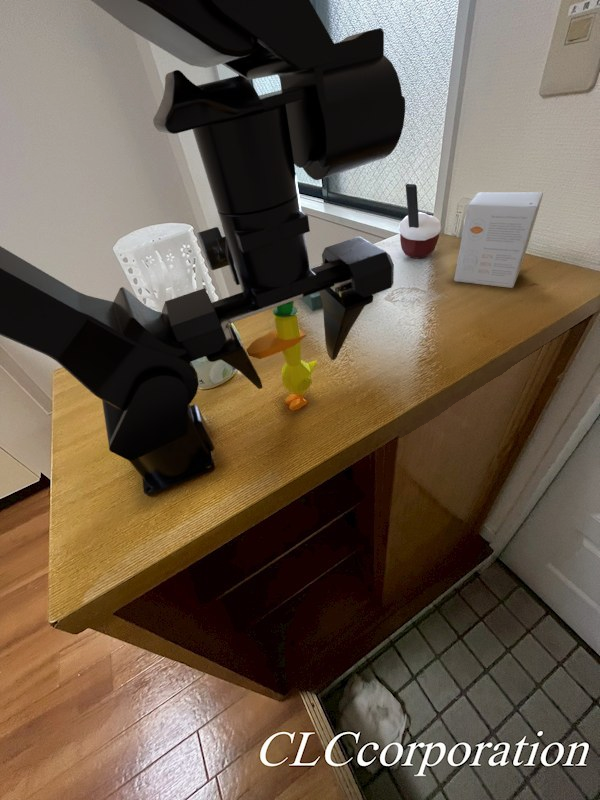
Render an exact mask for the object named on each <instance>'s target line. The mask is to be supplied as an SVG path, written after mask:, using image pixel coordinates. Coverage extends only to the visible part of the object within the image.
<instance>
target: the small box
mask: <svg viewBox="0 0 600 800" xmlns="http://www.w3.org/2000/svg"><path fill="white" fill-rule="evenodd" d="M543 196H544V192H543V191H537V192H536V191H534V192H533V191H530V192H529V191H528V192H527V191H525V192H524V191H523V192H521V191H520V192H519V191H513V192H510V191H506V192H505V191H503V192H501V191H499V192H498V191H497V192H495V191H489V192H486V191H484V192H483V191H482V192H481V191H479V192H477V193H476V194H475V196H474V197H473V198H472V199H471V201H470V202H469V203H468V204H467V206H466V211H465V217H464V222H463V229H462V234H461V240H460V245H459V251H458V256H457V263H456V267H455V274H454V282H457V283H464V284H465V283H466V284H467V283H468V284H476V285H482V286H483V285H484V286H492V287H501V288H508V289H513V288H514V287H515V284H516V283H517V282H516V281H517V279H518V276H519V273H520V271H521V269H522V265H523V262H524V259H525V256H526V253H527V249H528V246H529V242H530V240H531V236H532V233H533V230H534V226H535V223H536V220H537V218H538V217H537V216H538V213H539V211H540V206H541V203H542V200H543Z"/></svg>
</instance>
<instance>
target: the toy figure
mask: <svg viewBox="0 0 600 800" xmlns="http://www.w3.org/2000/svg"><path fill="white" fill-rule="evenodd" d="M272 314H273V318H274V323H275V328H276V329H275V330H272V331H269V332H268V333H266V334H265V335H262V336H259V337H258V338H257V339H255V340H254V341H251V344H250V345H248V347H247V348H246V353H247V355H248V357H251V358H254V359H258V360H262V359H265V358H268V357H271V356H273V355H276V354H278V353H281V352H282V354H283V357H284V359H285V363H284V364H283V366H282V368H281V369H280V370H281V379H282V383H283V388H284V389H285V390H286V391H288V392H289V393H290V394H288V396H287V397H286V399H285V400H284V402H285V404H286V406H288V409H290V411H297V410H300V409H301V408H302V407H304V406H305V405H306V404H308V401H307V399H305V398H304V394H305V393H306V392H307V391H308V390H309V389H310V387H311V386H312V385H313V383H312V373H313V371H314V369H315V368H316V365H317V363H318V360H319V359H316V360H312V361H310V362H305V360H303V359H302V349H301V348H302V344H301V343H302V342H301V341H302V340H303V339H304V338H306V337H307V335H306V333H305V332H304V331H302V329H300V327H299V321H298V315H297V314H298V309H297V307H296V306H294V301H291V302H289V303H286V304H283V305H280V306H277V307H275V308H273V309H272Z"/></svg>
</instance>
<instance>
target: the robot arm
mask: <svg viewBox="0 0 600 800" xmlns="http://www.w3.org/2000/svg"><path fill="white" fill-rule="evenodd" d="M90 1H91V2H92V3H94V4H95V5H96V6H98V7H99V8H101V9H102V10H103V11H104V12H106V13H107V14H109V15H110V16H111V17H112V18H113V19H115V20H116V21H118V22H119V23H120V24H122V26H124V27H126V28H127V29H129V30H131V31H132V32H133V33H135V34H137V35H139V36H140V37H142V38H143V39H145V40H147V41H148V42H150V43H152V44H153V45H155V46H156V47H158V48H159V49H162V50H163V51H165V52H167V53H168V54H169V55H171V56H173V57H175V58H177V59H178V60H180V61H181V62H183V63H185V64H187V65H189V66H193V67H198V68H205V69H206V68H207V69H208V68H212V67H215V66H219V65H223V66H224V67H226V68H227V69H229V70H230V71H232V72H234V73H235V74H236V75H235V76H232V77H228V78H223V79H218V80H214V81H211V82H206V83H201V84H197V85H196V84H195V83H194V82H192V81H191V80H190V79H189V78H188V77H186V75H185V74H184V73H183V72H182V71H181V70H180V69H179V70H178V69H175V70H173V71H170V72H167V73H166V74H165V76H164V91H163V96H162V99H161V100H160V101H161V102H160V105H159V107H158V109H157V111H156V113H155V114H154V117H153V122H152V123H153V126H154V128H155V129H156V131H158V132H161V133H167V134H171V135H176V134H180V133H183V132H187V131H191V130H192V132H193V136H194V138H195V142H196V145H197V149H198V152H199V155H200V159H201V161H202V165H203V168H204V172H205V175H206V178H207V181H208V185H209V188H210V192H211V194H212V198H213V201H214V204H215V207H216V210H217V214H218V217H219V221H220V224H221V227H222V230H223V234H224V236H223V235H222V232H221V230H220V228H219V227H218V226H214V227H212V228H207V229H205V230H202V231H199V232H197V233H196V235H197V238H198V241H199V243H200V247H201V249H202V252H203V254H204V257H205V261H206V262H207V265H208V268H209V269H210V271H216V270H219V269H222V268H225V267H227V266H229V270H230V273H231V277H232V280H233V282H234V283H235V285H236V286H240V289H241V292H239V293H236V294H233V295H230V296H227V297H224V298H221V299H218V300H215V301H213V302H212V301H211V298H210V296H209V294H208V291H207V289H206V288H205V287H204V288H201V289H198V290H195V291H192V292H188V293H186V294H183V295H179V296H177V297H174V298H171V299H168V300H165V301H164V303H163V306H162V309H161V311H158V310H155V309H152V308H151V307H148V306H147V305H146V304H144V303H143V302H142V301H141V300H140V299H138V297H137V296H135V295H134V294H133V293H132V292H131V291H129V290H128V289H127V288H126V287H123V286H121V287H119V289H118V292H117V294H116V296H115V297H114V300H113V301H111V300H107V299H104V298H99V297H95V296H91V295H87V294H85V293H83V292H80V291H78V290H76V289H74V288H73V287H71V286H69V285H67V284H66V283H64V282H63V281H61V280H59V279H57V278H55V277H54V276H52V275H50V274H49V273H46V271H44V270H42V269H40V268H38V267H36V266H35V265H33V264H32V263H30V262H28V261H26V259H23V258H21V257H19V256H18V255H16V254H14V253H13V252H11V251H9V250H8V249H6V248H4V247H3V246H2V245H0V336H1V337H4V338H6V339H8V340H11V341H13V342H15V343H18V344H20V345H22V346H24V347H27V348H29V349H31V350H34V351H36V352H39V353H41V354H43V355H45V356H47V357H49V358H50V359H52V360H54V361H55V362H57V363H58V364H59V365H60V366H61V367H62V368H63V369H65V370H66V371H67V372H68V373H69V375H71V376H73V377H74V378H75V379H76V380H77V381H78V382H79V384H81V385H83V387H84V388H85V389H87V390H88V391H89V392H90V393H91V394H93V395H94V396H95V397H96V398H98V399H100V400H101V402H102V409H103V415H104V423H105V430H106V436H107V443H108V449H109V451H110V452H111V453H113V454H115V455H117V456H119V457H121V458H123V459H125V460H127V461H128V462H129V463H130V464H131V465H132V466H133V468H134V469H135V470H136V471H137V473H138V474H139V475H140V476H141V478H142V487H143V494H144V495H145V496H146V497H152V496H155V495H158V494H161V493H163V492H165V491H167V490H170V489H173V488H175V487H178V486H180V485H182V484H183V485H184V484H185V483H188V482H190V481H193V480H195V479H198V478H200V477H202V476H205V475H208V474H210V473H212V472H213V471H215V469H216V464H215V460H214V456H213V453H212V452H214V450H215V445H214V441H213V437H212V434H211V430H210V428H209V426H208V424H207V423H206V420H205V418H204V416H203V413H202V411H201V410H200V408H199V405H198V404H197V405H196V404H191V403H192V402H193V400H194V399H195V397H196V395H197V393H198V389H199V384H200V383H199V375H198V372H197V370H196V368H195V366H194V364H193V362H195V361H196V360H199V359H202V358H204V357H205V358H206V360H207V362H211V363H214V362H218V361H223V362H225V363H226V364H228V365H229V366H231V367H232V368H233V369H235V370H236V371H238V372H240V373H241V374H242V375H243V376H244V377H245V378H246V379H247V380H248V381H249V382H250V383H252V384H253V385H254V386H255V387H256V388H257V389H258V390H261V389H263V388H264V386H263V383H262V380H261V378H260V376H259V373H258V372H257V370H256V368H255V365H254V364H253V362H252V360H251V358H250V356H249V355H248V352H247V350H246V349H245V348H244V345H243V343H242V342H241V340H240V338H239V335H238V334H237V332H236V330H235V328H234V327H233V325H232V324H233V323H235V322H238V321H241V320H243V319H247V318H249V317H252V316H255V315H258V314H260V313H263V312H266V311H269V310H271V309H272V310H273V309H275V308H276V307H277V306H280V305H283V304H286V303H289V302H291V301H293V302H295V301H297V300H299V299H301V298H302V297H305V296H307V295H310V294H313V293H316V292H319V293H320V296H321V300H322V303H323V308H322V310H323V311H322V312H323V326H324V341H325V347H326V353H327V356H328V357H329V358H330V360H331V361H334V360H337V358H338V356H339V354H340V352H341V350H342V347H343V345H344V343H345V341H346V339H347V338H348V336H349V333H350V331H351V329H352V328H353V326H354V325H355V323H356V322H357V320H358V318H359V316H360V315H361V313H362V312H363V310H364V308H365V307H366V306H368V305H371V304H372V303H373V302H374V295H376V294H378V293H381V292H383V291H387V290H389V289H392V287H393V285H394V276H395V275H394V272H395V271H394V270H395V265H394V262H393V259H392V256H391V255H390V254H389V253H388V252H387V251H386V250H384V249H382V248H380V247H378V246H376V244H373V243H371V242H370V241H368V240H366V239H364V238H363V237H361V236H356V237H353V238H349V239H347V240H344V241H341V242H338V243H334V244H332V245H329V246H326V247H324V249H323V251H322V253H321V260H322V263H320V265H316V266H313V267H312V268H311V266H310V260H309V253H308V246H307V240H306V233H309V232H310V233H311V230H310V222H309V221H310V220H309V215H307V214H306V213H304V212H303V211H302V206H301V199H300V192H299V186H298V178H297V172H296V167H297V168H299V169H303V171H304V172H305V174H306V175H307V176H308V177H310V179H312V180H315V181H320V180H323V179H326V178H329V177H330V178H331V177H332V176H335V175H338V174H341V173H344V172H348V171H350V170H353V169H356V168H359V167H362V166H365V165H368V164H371V163H373V162H377V161H380V160H383V159H385V158H387V157H389V156H390V155H391V154H392V153H393V152H394V150H395V149H396V147H397V146H398V144H399V141H400V139H401V136H402V133H403V129H404V124H405V115H406V98H405V96H403V92H402V85H401V82H400V79H399V75H398V72H397V71H396V69H395V66H394V65H393V63H392V62H391V60H390V59H389V58H388V57H387V56H386V55H385V45H384V44H385V33H384V30H383V28H382V27H378V28H376V29H371V30H365V31H362V32H359V33H354V34H352V35H349V36H346V37H345V38H344V39H342V40H341V41H338V42H334V40H333V39H332V37H331V35H330V33H329V32H328V29H327V28H326V26H325V25H324V23H323V21H322V20H321V18H320V16H319V14H318V13H317V11H316V9H315V7H314V5H313V4H312V2H311V0H90ZM273 76H278V78H279V81H280V90H275V91H272V92H271V91H270V92H268V93H264V94H260V95H259V93H258V92H257V90H256V89H255V87H254V86H253V84H252V83H251V82H250V81H251V80H255V79H261V78H267V77H273Z"/></svg>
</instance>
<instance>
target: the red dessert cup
mask: <svg viewBox="0 0 600 800" xmlns="http://www.w3.org/2000/svg"><path fill="white" fill-rule="evenodd" d="M404 187H405V197H406V207H407V208H406V209H407V215H406V216H405V217H403V219H402V220H401V221H400V222H399V226H398V232H399V233H400V234H399V241H400V246H401V250H402V251H403V254H404V255H406V256H407V257H409V258H410V259H412V258H413V259H423V258H426V257H427V256H430V254H432V253H433V252H434V251H435V248H436V246H437V244H438V241H439V239H440V233H441V230H442V224H441V222H440V221H439V219H438V218H437V217H436V216H434V215H431V214H428V213H426V212H421V211H419V204H418V201H419V199H418V186H417V185H416V184H415V183H406V184H405V186H404Z"/></svg>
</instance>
